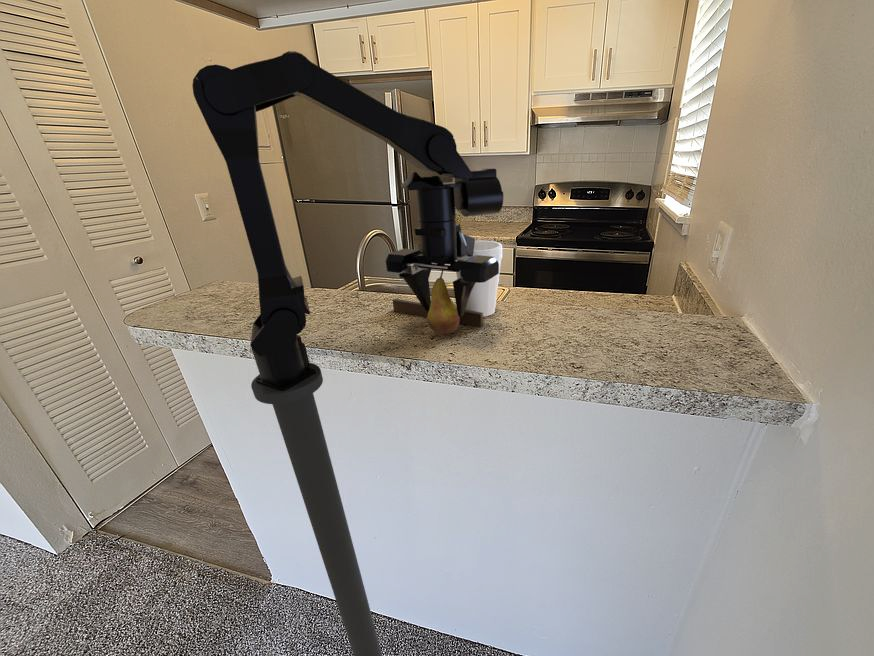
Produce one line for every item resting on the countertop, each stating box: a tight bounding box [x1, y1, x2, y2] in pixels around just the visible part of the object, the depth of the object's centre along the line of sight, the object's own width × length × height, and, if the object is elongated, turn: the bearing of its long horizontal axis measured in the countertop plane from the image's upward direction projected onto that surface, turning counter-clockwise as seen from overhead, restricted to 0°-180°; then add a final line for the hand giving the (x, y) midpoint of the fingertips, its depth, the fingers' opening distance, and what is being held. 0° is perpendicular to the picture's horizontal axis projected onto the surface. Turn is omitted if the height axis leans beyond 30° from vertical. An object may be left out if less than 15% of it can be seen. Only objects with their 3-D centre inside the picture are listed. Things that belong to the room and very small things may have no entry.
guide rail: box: [392, 298, 484, 328], centre depth 78 cm, size 1×20×2 cm, turn 63°
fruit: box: [426, 264, 460, 335], centre depth 69 cm, size 6×6×12 cm
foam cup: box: [455, 239, 503, 318], centre depth 78 cm, size 10×9×13 cm
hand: (444, 313), depth 70 cm, fingers open, 6 cm apart
